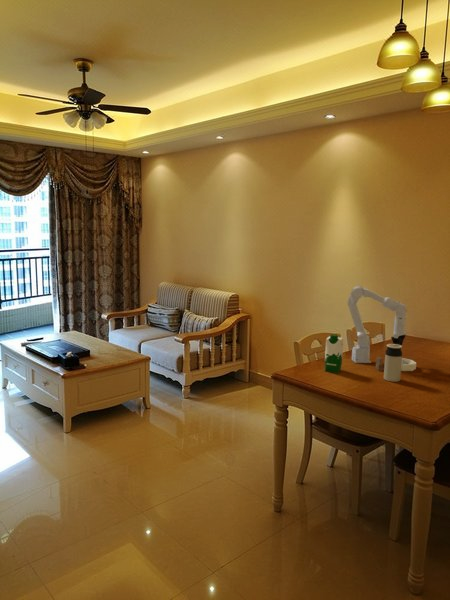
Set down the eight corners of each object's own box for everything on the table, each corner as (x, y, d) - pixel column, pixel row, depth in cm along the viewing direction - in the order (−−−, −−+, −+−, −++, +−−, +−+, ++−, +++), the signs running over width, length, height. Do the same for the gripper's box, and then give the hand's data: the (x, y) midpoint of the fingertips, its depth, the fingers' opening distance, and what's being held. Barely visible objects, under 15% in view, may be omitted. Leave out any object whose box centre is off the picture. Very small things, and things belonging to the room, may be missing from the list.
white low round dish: (419, 370, 255) (419, 364, 255) (394, 370, 254) (395, 364, 254) (407, 363, 269) (408, 357, 269) (384, 363, 268) (384, 357, 268)
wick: (382, 371, 254) (382, 358, 253) (378, 371, 254) (379, 358, 253) (379, 368, 258) (380, 356, 257) (375, 368, 258) (376, 356, 257)
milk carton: (323, 371, 251) (324, 335, 248) (326, 367, 259) (328, 332, 256) (339, 373, 247) (341, 337, 244) (342, 369, 255) (344, 333, 252)
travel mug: (403, 381, 236) (405, 347, 233) (388, 382, 235) (391, 347, 232) (394, 377, 244) (397, 343, 241) (380, 377, 242) (383, 343, 240)
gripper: (404, 327, 255) (402, 352, 257) (409, 323, 267) (407, 346, 269) (390, 326, 259) (389, 350, 261) (397, 322, 271) (395, 345, 273)
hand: (397, 348), depth 265 cm, fingers open, 7 cm apart
